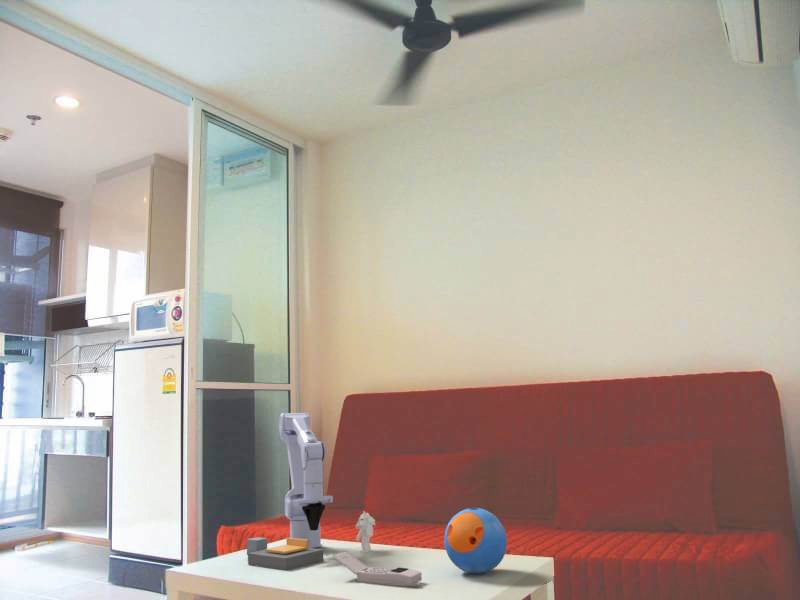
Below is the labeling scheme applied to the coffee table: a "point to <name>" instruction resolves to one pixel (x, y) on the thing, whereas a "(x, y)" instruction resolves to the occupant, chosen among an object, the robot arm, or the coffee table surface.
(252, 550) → the grey rectangular block
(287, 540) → the panel
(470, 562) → the treat dispenser ball
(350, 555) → the mobile phone
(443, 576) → the coffee table surface
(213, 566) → the coffee table surface
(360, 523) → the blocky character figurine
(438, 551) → the coffee table surface
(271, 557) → the socket base
